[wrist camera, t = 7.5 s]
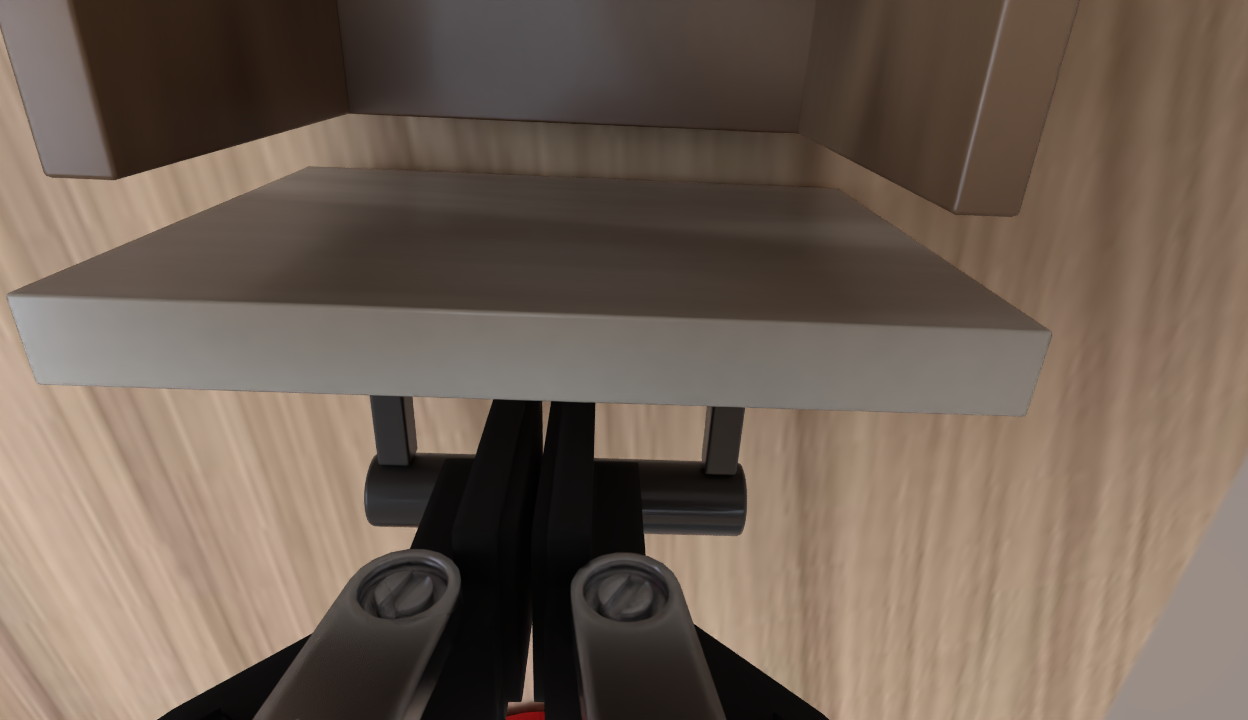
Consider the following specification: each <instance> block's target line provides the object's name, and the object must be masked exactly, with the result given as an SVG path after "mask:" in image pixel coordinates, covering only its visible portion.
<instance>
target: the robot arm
mask: <svg viewBox="0 0 1248 720" xmlns="http://www.w3.org/2000/svg"><path fill="white" fill-rule="evenodd" d="M594 433H595V402H564V401H551V407H550V413H549V420H548V426H547V433H546V439H545V445H544V452H543V423H542V401H534V400H503V399H493V402H492V405H491V409H490V412H489V415H488V418H487V421H486V424H485V427H484V431H483V434H482V437H481V440H480V443H479V446H478V449H477V453H476V456H475V458H447V459H445V461H444V463H443V465H442V468H441V470H440V473H439V476H438V478H437V481H436V483H435V486H434V488H433V491H432V494H431V496H430V499H429V501H428V504H427V506H426V509H425V512H424V514H423V517H422V519H421V522H420V524H419V527H418V530H417V532H416V535H415V537H414V540H413V542H412V545H411V548H410V549H407V550H402V551H396V552H391V553H389V554H386V555H383V556H381V557H378V558H376V559H374V560H372V561H371V562H369V563H368V564H366V565H365V566H363V567H362V568H360V569H359V570H358V571H357V573H356V574H355V575H354V576H353V577H352V578H351V579H350V580H349V582H348V583H347V584H346V586H345V587H344V589H343V590H342V592H341V593H340V595H339V596H338V597H337V599H336V600H335V602H334V603H333V605H332V606H331V607H330V609H329V610H328V612H327V613H326V615H325V616H324V618H323V619H322V620H321V622H320V623H319V625H318V626H317V628H316V629H315V631H314V632H313V633H312V634H310V635H308V636H307V637H305V638H303V639H301V640H299V641H297V642H296V643H294V644H292V645H290V646H288V647H286V648H285V649H283V650H281V651H279V652H277V653H275V654H274V655H272V656H270V657H268V658H266V659H264V660H262V661H261V662H259V663H257V664H255V665H253V666H251V667H250V668H248V669H246V670H244V671H242V672H240V673H239V674H237V675H235V676H233V677H231V678H229V679H228V680H226V681H224V682H222V683H220V684H218V685H216V686H215V687H213V688H211V689H209V690H207V691H205V692H204V693H202V694H200V695H198V696H196V697H194V698H193V699H191V700H189V701H187V702H185V703H183V704H182V705H180V706H178V707H176V708H174V709H173V710H171V711H170V712H168V713H167V714H165V715H164V716H162V717H161V718H159V719H157V720H506V714H507V707H508V702H521V701H522V696H523V689H524V681H525V673H526V665H527V658H528V650H529V642H530V634H531V627H532V628H533V679H534V702H544V708H545V720H829V719H828V718H827V717H826V716H824V715H823V714H822V713H821V712H819V711H818V710H816V709H815V708H814V707H812V706H811V705H809V704H808V703H806V702H805V701H804V700H802V699H801V698H799V697H798V696H796V695H795V694H794V693H792V692H791V691H789V690H788V689H786V688H785V687H783V686H782V685H781V684H779V683H778V682H776V681H775V680H773V679H772V678H771V677H769V676H768V675H766V674H765V673H763V672H762V671H761V670H759V669H758V668H756V667H755V666H753V665H752V664H751V663H749V662H748V661H746V660H745V659H743V658H742V657H740V656H739V655H738V654H736V653H735V652H733V651H732V650H730V649H729V648H728V647H726V646H725V645H723V644H722V643H720V642H719V641H718V640H716V639H715V638H713V637H712V636H710V635H709V634H708V633H706V632H705V631H703V630H702V629H700V628H699V627H697V626H696V625H695V624H693V621H692V618H691V615H690V612H689V609H688V606H687V604H686V601H685V598H684V595H683V592H682V589H681V586H680V584H679V582H678V580H677V578H676V577H675V575H674V573H673V572H672V571H671V570H670V569H668V568H667V567H666V566H665V565H664V564H663V563H661V562H659V561H657V560H655V559H653V558H651V557H649V556H646V554H645V541H644V528H643V515H642V501H641V488H640V475H639V464H638V462H629V461H594Z"/></svg>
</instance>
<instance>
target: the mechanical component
mask: <svg viewBox="0 0 1248 720" xmlns="http://www.w3.org/2000/svg"><path fill="white" fill-rule="evenodd" d="M506 720H545V712H527V713H520V714H516V715H512V716H507V717H506Z"/></svg>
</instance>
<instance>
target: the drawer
mask: <svg viewBox="0 0 1248 720" xmlns="http://www.w3.org/2000/svg"><path fill="white" fill-rule="evenodd" d="M1079 1H1080V0H0V29H1V32H2V35H3V39H4V42H5V45H6V49H7V52H8V55H9V59H10V62H11V65H12V69H13V72H14V75H15V78H16V82H17V85H18V88H19V92H20V95H21V98H22V102H23V105H24V108H25V112H26V115H27V118H28V122H29V125H30V128H31V132H32V135H33V138H34V141H35V145H36V148H37V151H38V155H39V158H40V161H41V165H42V168H43V171H44V173H45V175H46V176H49V177H52V178H76V179H100V180H117V179H120V178H124V177H127V176H131V175H134V174H138V173H141V172H145V171H148V170H152V169H155V168H159V167H162V166H166V165H169V164H173V163H176V162H180V161H183V160H187V159H190V158H194V157H197V156H201V155H204V154H208V153H211V152H215V151H218V150H222V149H225V148H229V147H233V146H236V145H240V144H243V143H247V142H250V141H254V140H257V139H261V138H264V137H268V136H271V135H275V134H278V133H282V132H285V131H289V130H292V129H296V128H299V127H303V126H306V125H310V124H313V123H317V122H320V121H324V120H327V119H331V118H334V117H338V116H341V115H345V114H369V115H392V116H414V117H436V118H459V119H481V120H504V121H526V122H548V123H571V124H593V125H615V126H638V127H660V128H683V129H705V130H727V131H750V132H772V133H795V134H801V135H803V136H805V137H807V138H809V139H811V140H812V141H814V142H816V143H818V144H820V145H822V146H824V147H826V148H828V149H830V150H832V151H834V152H836V153H838V154H839V155H841V156H843V157H845V158H847V159H849V160H851V161H853V162H855V163H857V164H859V165H861V166H863V167H865V168H866V169H868V170H870V171H872V172H874V173H876V174H878V175H880V176H882V177H884V178H886V179H888V180H890V181H892V182H893V183H895V184H897V185H899V186H901V187H903V188H905V189H907V190H909V191H911V192H913V193H915V194H917V195H919V196H921V197H922V198H924V199H926V200H928V201H930V202H932V203H934V204H936V205H938V206H940V207H942V208H944V209H946V210H948V211H949V212H951V213H953V214H955V215H975V216H999V217H1013V216H1016V215H1018V213H1019V212H1020V208H1021V205H1022V201H1023V198H1024V194H1025V191H1026V187H1027V184H1028V180H1029V177H1030V173H1031V170H1032V166H1033V163H1034V159H1035V156H1036V152H1037V149H1038V145H1039V142H1040V138H1041V135H1042V131H1043V128H1044V124H1045V121H1046V117H1047V114H1048V110H1049V107H1050V103H1051V100H1052V96H1053V93H1054V89H1055V86H1056V82H1057V79H1058V75H1059V71H1060V68H1061V64H1062V61H1063V57H1064V54H1065V50H1066V47H1067V43H1068V40H1069V36H1070V33H1071V29H1072V26H1073V22H1074V19H1075V15H1076V12H1077V8H1078V5H1079ZM6 298H7V300H8V303H9V306H10V309H11V312H12V315H13V318H14V320H15V323H16V326H17V329H18V332H19V335H20V338H21V340H22V343H23V346H24V349H25V352H26V355H27V358H28V360H29V363H30V366H31V369H32V372H33V375H34V378H35V380H36V382H37V383H38V384H44V385H74V386H105V387H136V388H166V389H197V390H228V391H258V392H289V393H319V394H350V395H370V401H371V409H372V417H373V425H374V433H375V441H376V449H377V454H376V455H375V456H374V458H373V459H372V461H371V464H370V466H369V469H368V473H367V477H366V482H365V491H364V505H365V512H366V517H367V520H368V522H369V523H370V524H371V525H373V526H380V527H417V528H418V527H419V524H420V522H421V519H422V517H423V514H424V512H425V509H426V506H427V504H428V501H429V499H430V496H431V494H432V491H433V488H434V486H435V483H436V481H437V478H438V476H439V473H440V470H441V468H442V465H443V463H444V461H445V459H447V458H475V456H476V454H444V453H416V451H417V440H416V429H415V419H414V408H413V398H412V397H442V398H472V399H503V400H534V401H564V402H595V403H626V404H656V405H687V406H707V412H706V421H705V430H704V440H703V449H702V461H675V460H642V459H609V458H594V461H629V462H638V464H639V475H640V488H641V501H642V515H643V528H644V534H676V535H713V536H738V535H740V534H741V533H742V531H743V529H744V525H745V521H746V513H747V487H746V479H745V474H744V471H743V468H742V466H741V464H739V463H738V457H739V449H740V442H741V434H742V427H743V419H744V412H745V407H748V408H779V409H809V410H840V411H870V412H901V413H932V414H962V415H993V416H1025V415H1026V413H1027V410H1028V407H1029V404H1030V401H1031V398H1032V395H1033V392H1034V389H1035V386H1036V383H1037V380H1038V377H1039V374H1040V371H1041V368H1042V365H1043V362H1044V359H1045V356H1046V353H1047V350H1048V347H1049V344H1050V341H1051V337H1052V332H1051V331H1050V330H1049V329H1047V328H1046V327H1044V326H1043V325H1041V324H1040V323H1038V322H1037V321H1035V320H1034V319H1032V318H1031V317H1029V316H1028V315H1026V314H1025V313H1023V312H1022V311H1020V310H1019V309H1017V308H1016V307H1014V306H1013V305H1011V304H1010V303H1009V302H1007V301H1006V300H1004V299H1003V298H1001V297H1000V296H998V295H997V294H995V293H994V292H992V291H991V290H989V289H988V288H986V287H985V286H983V285H982V284H980V283H979V282H977V281H976V280H974V279H973V278H971V277H970V276H968V275H967V274H965V273H964V272H962V271H961V270H959V269H958V268H956V267H955V266H953V265H952V264H950V263H949V262H947V261H946V260H944V259H943V258H942V257H940V256H939V255H937V254H936V253H934V252H933V251H931V250H930V249H928V248H927V247H925V246H924V245H922V244H921V243H919V242H918V241H916V240H915V239H913V238H912V237H910V236H909V235H907V234H906V233H904V232H903V231H901V230H900V229H898V228H897V227H895V226H894V225H892V224H891V223H889V222H888V221H886V220H885V219H883V218H882V217H880V216H879V215H877V214H876V213H875V212H873V211H872V210H870V209H869V208H867V207H866V206H864V205H863V204H861V203H860V202H858V201H857V200H855V199H854V198H852V197H851V196H849V195H848V194H846V193H845V192H843V191H842V190H840V189H834V188H810V187H787V186H763V185H739V184H716V183H692V182H668V181H645V180H621V179H598V178H574V177H550V176H527V175H503V174H480V173H456V172H432V171H409V170H385V169H361V168H338V167H314V166H309V167H306V168H304V169H302V170H299V171H297V172H295V173H292V174H290V175H287V176H285V177H283V178H280V179H278V180H276V181H273V182H271V183H268V184H266V185H264V186H261V187H259V188H257V189H254V190H252V191H249V192H247V193H245V194H242V195H240V196H238V197H235V198H233V199H230V200H228V201H226V202H223V203H221V204H219V205H216V206H214V207H211V208H209V209H207V210H204V211H202V212H200V213H197V214H195V215H192V216H190V217H188V218H185V219H183V220H181V221H178V222H176V223H173V224H171V225H169V226H166V227H164V228H162V229H159V230H157V231H155V232H152V233H150V234H147V235H145V236H143V237H140V238H138V239H136V240H133V241H131V242H128V243H126V244H124V245H121V246H119V247H117V248H114V249H112V250H109V251H107V252H105V253H102V254H100V255H98V256H95V257H93V258H90V259H88V260H86V261H83V262H81V263H79V264H76V265H74V266H71V267H69V268H67V269H64V270H62V271H60V272H57V273H55V274H52V275H50V276H48V277H45V278H43V279H41V280H38V281H36V282H33V283H31V284H29V285H26V286H24V287H22V288H19V289H17V290H14V291H12V292H10V293H8V294H7V297H6Z"/></svg>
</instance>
